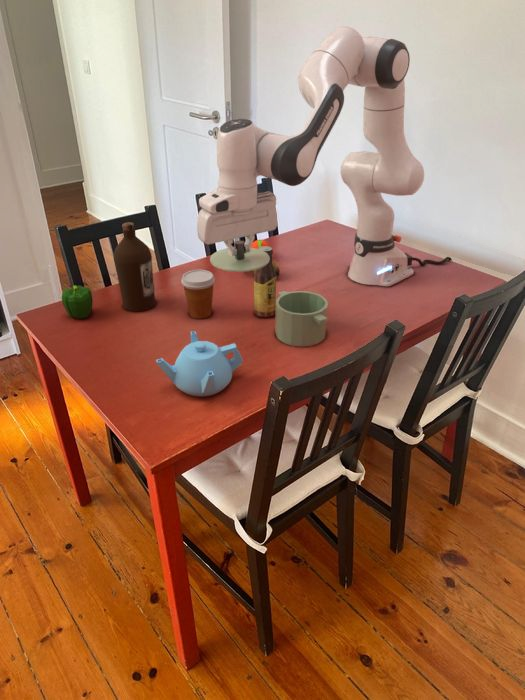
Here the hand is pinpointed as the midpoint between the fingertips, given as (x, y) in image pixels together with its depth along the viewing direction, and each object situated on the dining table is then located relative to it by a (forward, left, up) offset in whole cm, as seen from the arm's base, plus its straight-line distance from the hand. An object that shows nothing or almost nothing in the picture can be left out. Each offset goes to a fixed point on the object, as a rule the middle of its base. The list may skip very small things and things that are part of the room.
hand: (239, 253), depth 129 cm
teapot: (+18, +12, -25) cm, 33 cm away
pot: (-15, +6, -25) cm, 29 cm away
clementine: (-33, -44, -25) cm, 61 cm away
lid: (0, 0, -2) cm, 2 cm away
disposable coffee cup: (+3, -19, -25) cm, 32 cm away
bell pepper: (+33, -37, -25) cm, 56 cm away
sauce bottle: (-13, -9, -25) cm, 30 cm away
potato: (-26, -32, -25) cm, 48 cm away
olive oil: (+16, -34, -25) cm, 45 cm away
